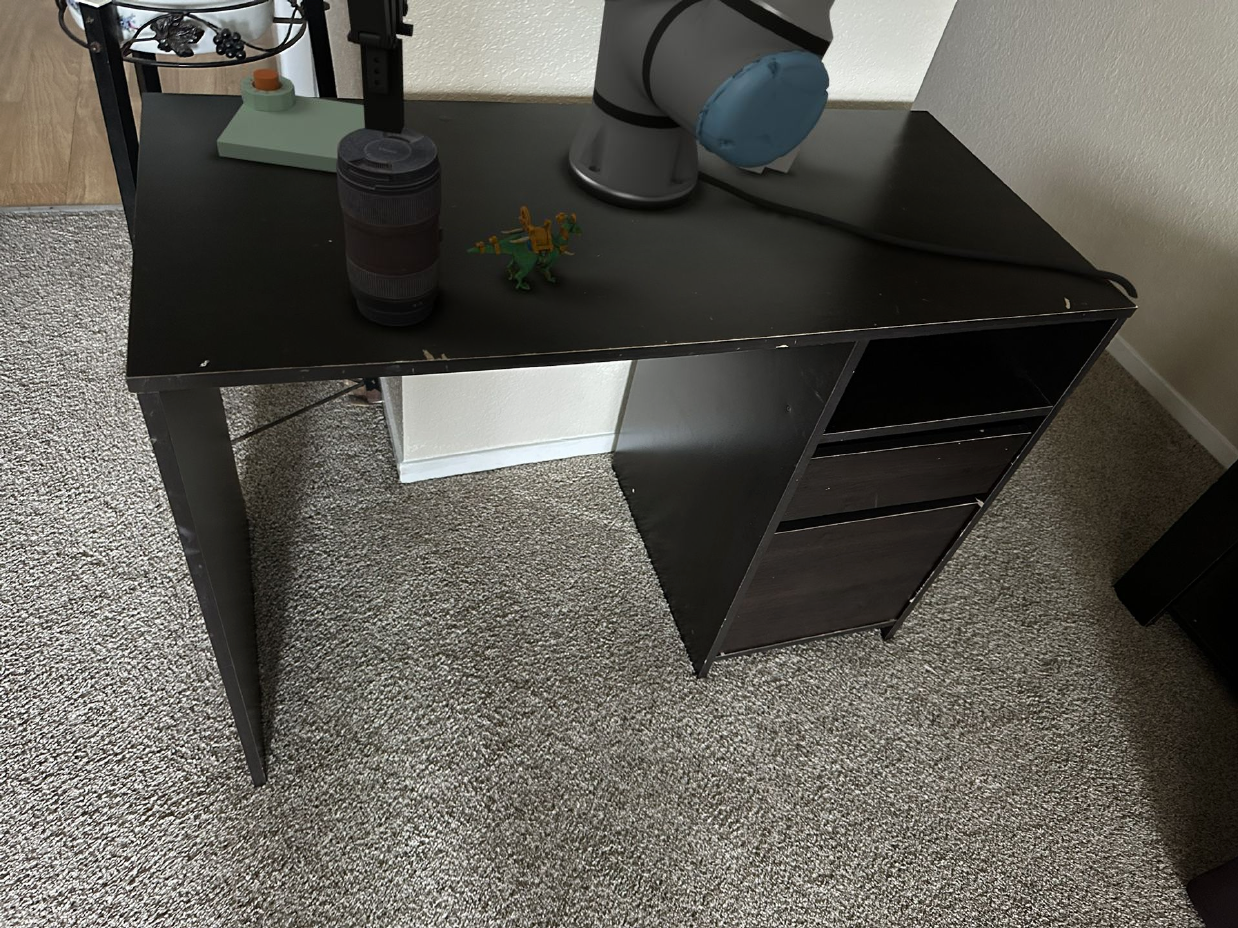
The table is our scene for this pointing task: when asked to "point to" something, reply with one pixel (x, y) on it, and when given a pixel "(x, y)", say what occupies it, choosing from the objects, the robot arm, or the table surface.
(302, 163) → the scale
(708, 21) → the robot arm
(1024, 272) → the table surface
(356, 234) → the camera lens
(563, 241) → the figurine
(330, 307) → the table surface
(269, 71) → the button
